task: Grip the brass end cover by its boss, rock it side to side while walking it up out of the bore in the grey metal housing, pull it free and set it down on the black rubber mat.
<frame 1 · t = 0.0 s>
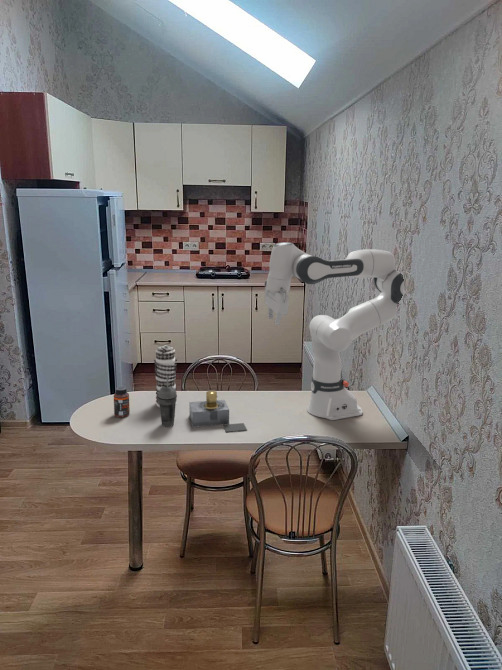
hand: (273, 321, 199), 39 cm above the table, tool pointing down, fingers open, 8 cm apart
checkered thermos bottle: (166, 404, 218), on the table
beverage cup: (167, 424, 199), on the table
mat: (234, 428, 197), on the table
housing: (209, 420, 204), on the table
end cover: (211, 415, 204), point 2 cm above the table, touching housing
supplement bottle: (122, 415, 207), on the table
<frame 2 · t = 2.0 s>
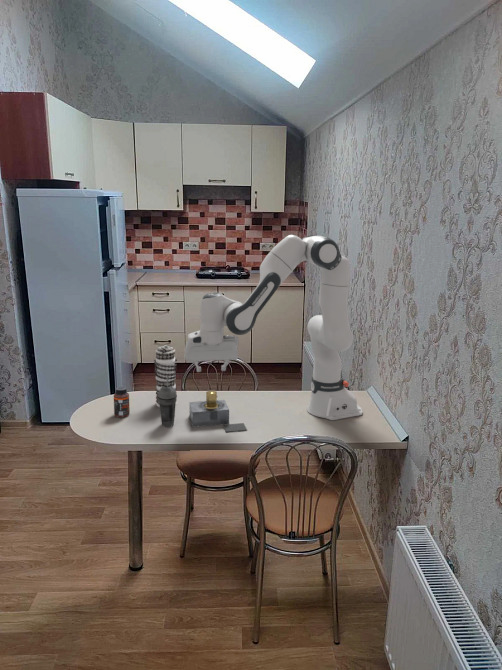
hand: (211, 371, 199), 20 cm above the table, tool pointing down, fingers open, 8 cm apart
nothing on the table moved.
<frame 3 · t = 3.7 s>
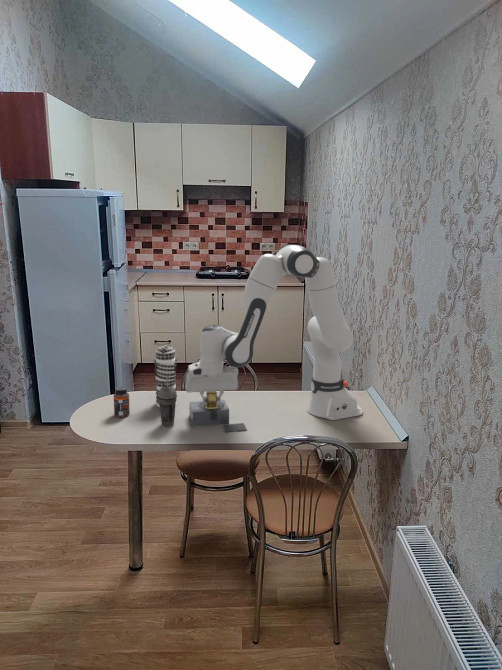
hand: (211, 401, 202), 8 cm above the table, tool pointing down, fingers closed on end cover, 4 cm apart
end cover: (211, 415, 204), point 2 cm above the table, touching gripper, housing
everything else where it was.
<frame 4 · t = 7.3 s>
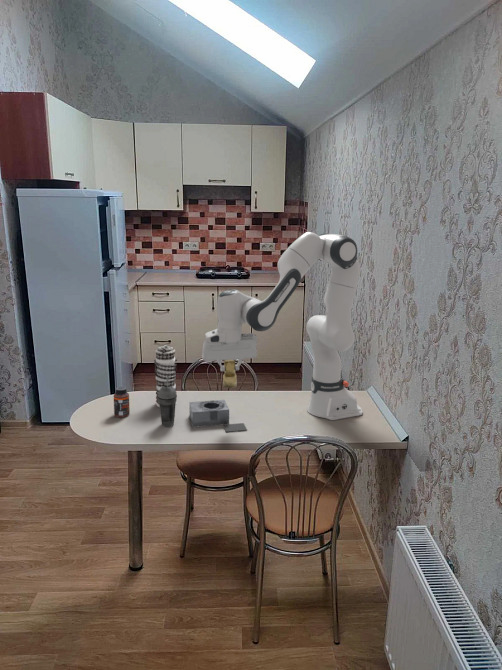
hand: (229, 370, 194), 22 cm above the table, tool pointing down, fingers closed on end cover, 4 cm apart
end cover: (229, 385, 195), point 16 cm above the table, touching gripper
everything else where it was.
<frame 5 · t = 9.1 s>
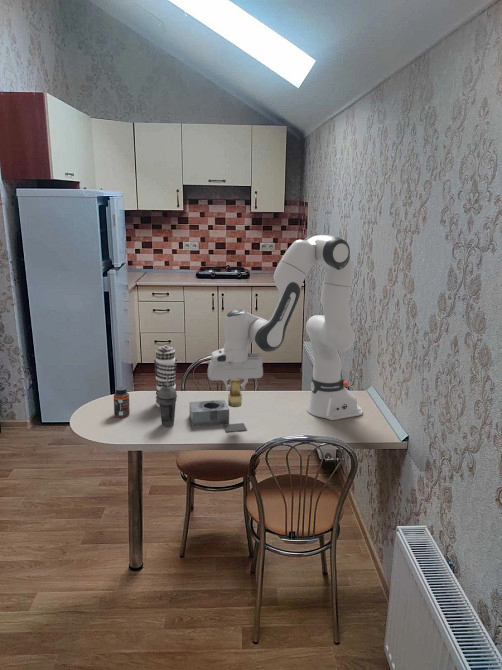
hand: (235, 389, 193), 16 cm above the table, tool pointing down, fingers closed on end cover, 4 cm apart
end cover: (234, 404, 195), point 10 cm above the table, touching gripper
everything else where it was.
when the fingers open (7 cm above the table, at t = 10.9 s): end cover drops 1 cm, resting on mat.
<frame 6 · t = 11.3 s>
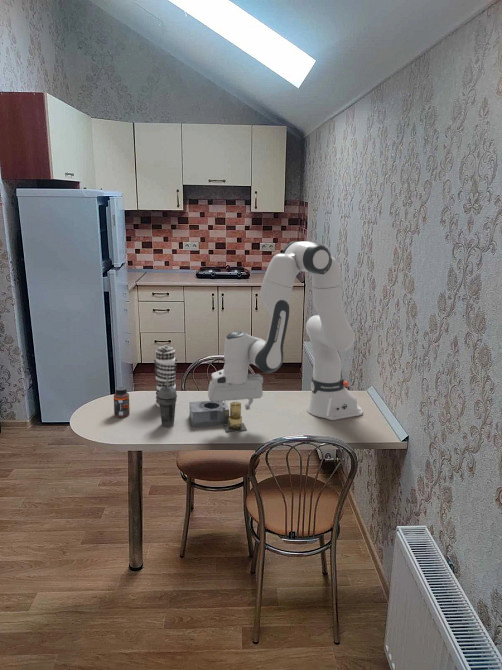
hand: (235, 410, 196), 7 cm above the table, tool pointing down, fingers open, 8 cm apart
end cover: (235, 427, 197), resting on mat
everything else where it was.
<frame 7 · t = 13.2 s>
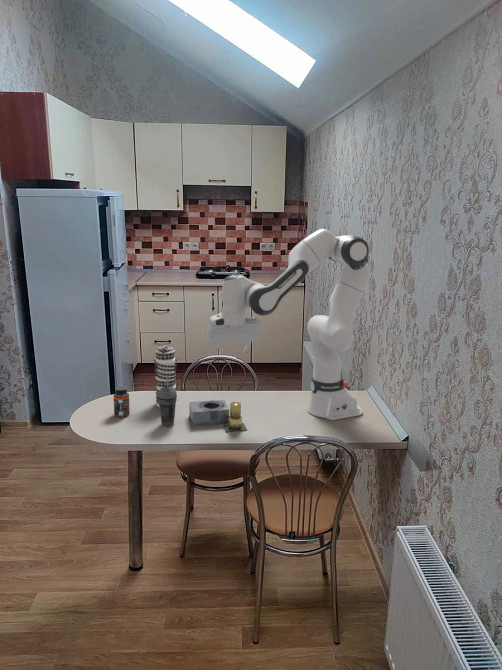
hand: (233, 353, 199), 27 cm above the table, tool pointing down, fingers open, 8 cm apart
nothing on the table moved.
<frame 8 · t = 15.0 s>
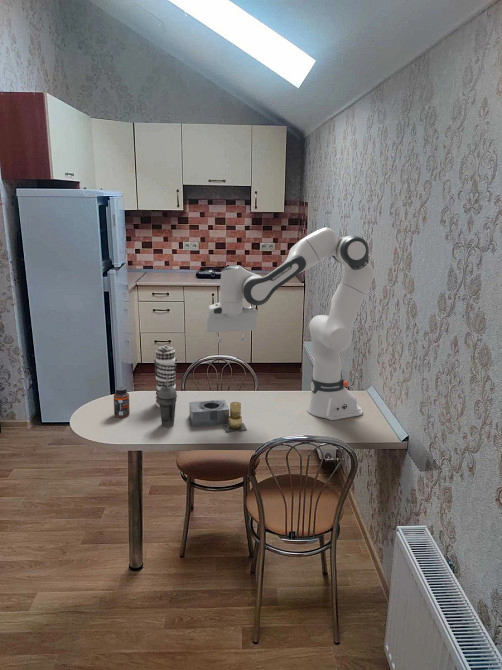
hand: (230, 341, 206), 29 cm above the table, tool pointing down, fingers open, 8 cm apart
nothing on the table moved.
at the end: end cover inside the target area on the mat (0.1 cm from its centre), point 0.4 cm above the mat's base; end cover tilted 0°; the gripper is holding nothing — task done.
